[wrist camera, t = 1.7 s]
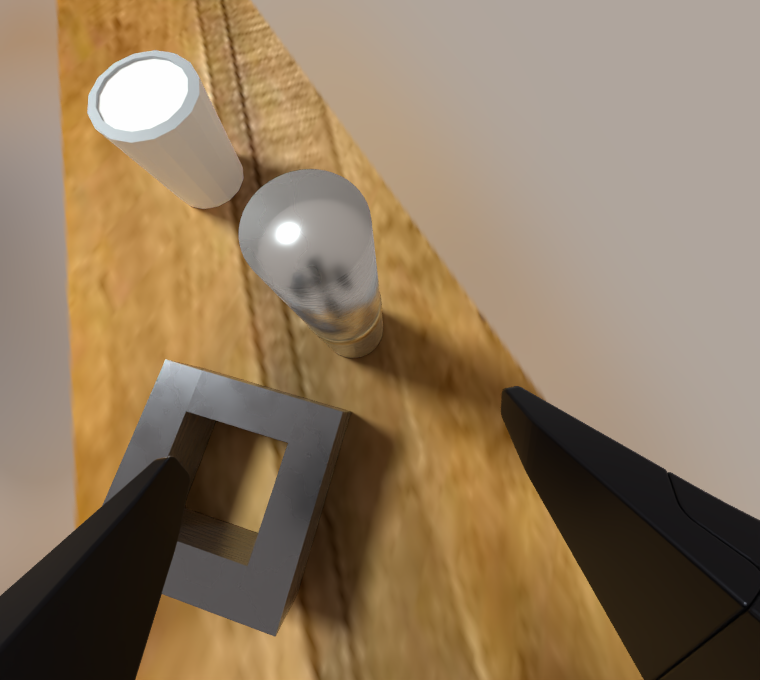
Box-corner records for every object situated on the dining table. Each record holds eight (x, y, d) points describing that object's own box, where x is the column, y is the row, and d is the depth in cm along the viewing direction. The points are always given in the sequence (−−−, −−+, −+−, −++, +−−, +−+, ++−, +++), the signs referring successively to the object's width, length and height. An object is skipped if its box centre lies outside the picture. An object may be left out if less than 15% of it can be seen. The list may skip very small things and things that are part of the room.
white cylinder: (239, 132, 26) (185, 34, 19) (261, 199, 25) (210, 117, 18) (160, 158, 26) (77, 68, 19) (177, 227, 24) (93, 156, 18)
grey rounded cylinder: (374, 365, 21) (349, 306, 9) (315, 349, 22) (216, 271, 10) (391, 308, 22) (389, 183, 10) (334, 293, 23) (264, 156, 10)
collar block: (297, 594, 18) (275, 636, 15) (133, 535, 19) (77, 562, 16) (351, 411, 21) (342, 411, 17) (201, 367, 22) (165, 359, 18)
